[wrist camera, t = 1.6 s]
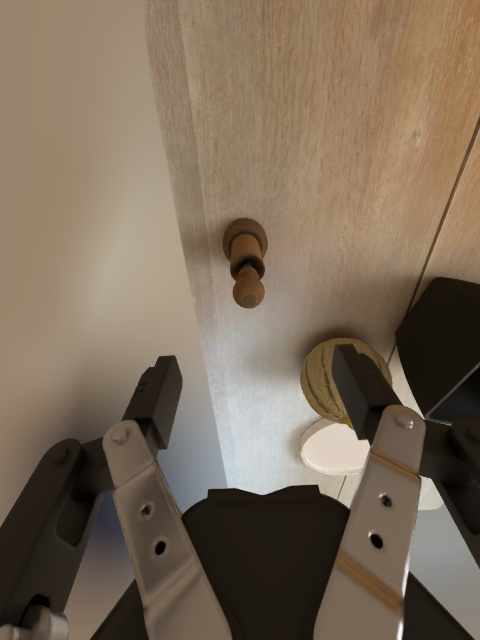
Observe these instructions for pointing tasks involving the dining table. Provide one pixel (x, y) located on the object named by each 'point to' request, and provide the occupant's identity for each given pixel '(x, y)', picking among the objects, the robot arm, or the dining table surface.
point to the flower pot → (444, 351)
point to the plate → (333, 448)
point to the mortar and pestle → (246, 260)
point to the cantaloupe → (321, 383)
